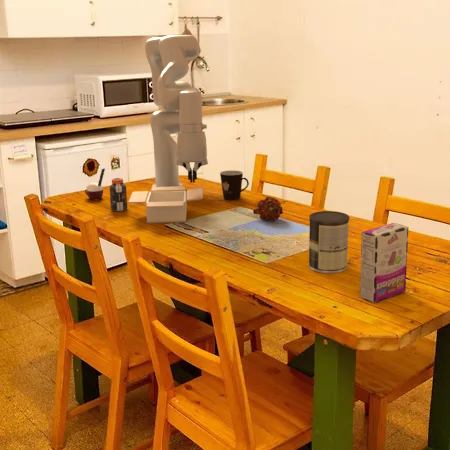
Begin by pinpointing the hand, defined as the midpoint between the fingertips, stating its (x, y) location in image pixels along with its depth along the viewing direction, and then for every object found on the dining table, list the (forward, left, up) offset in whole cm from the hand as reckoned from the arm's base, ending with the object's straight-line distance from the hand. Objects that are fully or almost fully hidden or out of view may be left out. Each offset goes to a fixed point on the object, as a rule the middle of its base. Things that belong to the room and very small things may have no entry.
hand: (192, 181), depth 218 cm
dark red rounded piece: (+8, +25, -12) cm, 29 cm away
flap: (+1, -2, -5) cm, 5 cm away
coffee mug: (-21, +15, -12) cm, 28 cm away
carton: (+1, -12, -12) cm, 17 cm away
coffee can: (+55, +36, -12) cm, 67 cm away
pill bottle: (-11, -27, -12) cm, 32 cm away
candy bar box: (+75, +45, -12) cm, 89 cm away
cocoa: (-28, -38, -12) cm, 49 cm away
